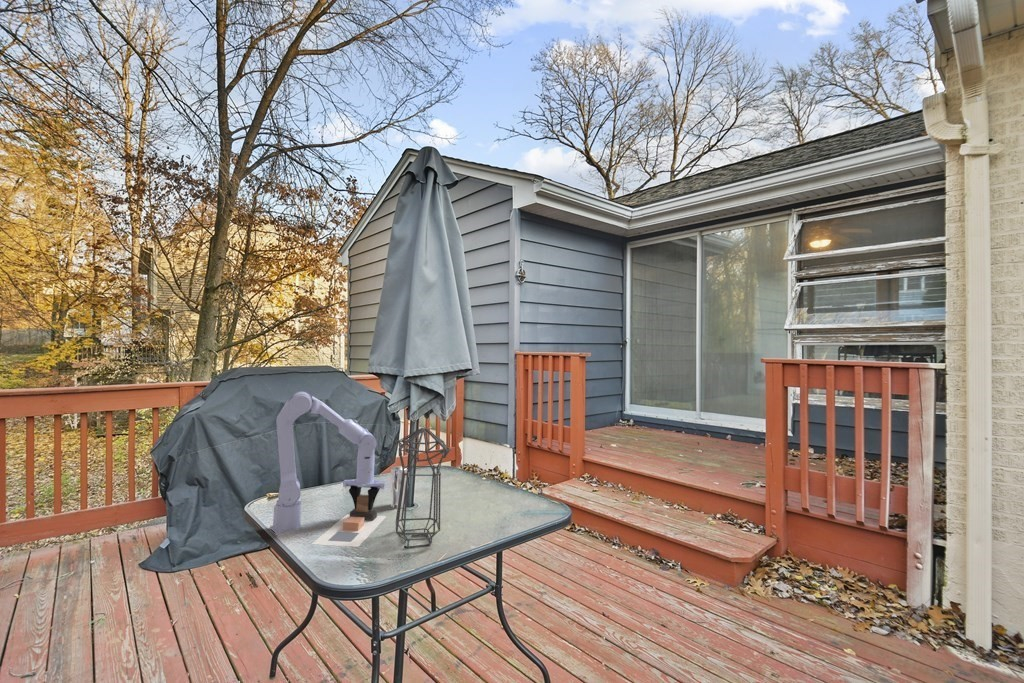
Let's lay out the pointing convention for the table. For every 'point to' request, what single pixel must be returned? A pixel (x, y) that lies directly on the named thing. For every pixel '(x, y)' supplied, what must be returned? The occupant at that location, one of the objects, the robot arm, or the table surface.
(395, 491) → the beer glass
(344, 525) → the tile
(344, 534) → the board
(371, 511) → the brown block stamp
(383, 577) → the table surface
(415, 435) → the geometric lantern
